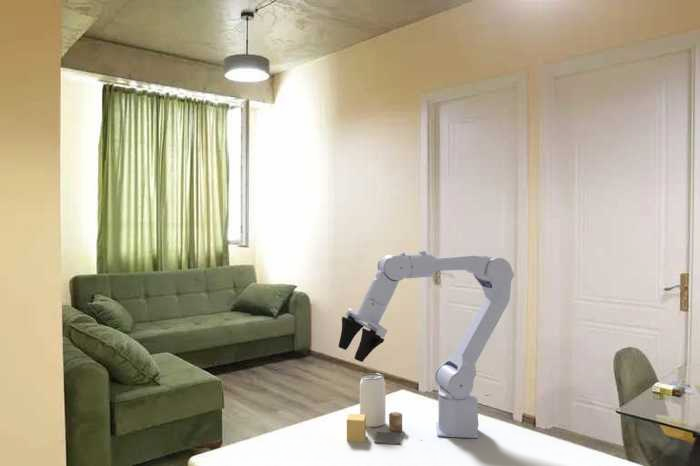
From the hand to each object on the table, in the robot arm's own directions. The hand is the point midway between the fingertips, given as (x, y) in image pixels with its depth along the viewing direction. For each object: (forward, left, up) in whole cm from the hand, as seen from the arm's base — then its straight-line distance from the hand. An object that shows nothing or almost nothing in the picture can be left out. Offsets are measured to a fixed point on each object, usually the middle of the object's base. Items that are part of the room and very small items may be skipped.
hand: (349, 354), depth 124 cm
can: (-4, -11, -20) cm, 24 cm away
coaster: (-9, -2, -20) cm, 22 cm away
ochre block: (-1, -1, -20) cm, 20 cm away
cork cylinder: (-10, -7, -20) cm, 24 cm away
